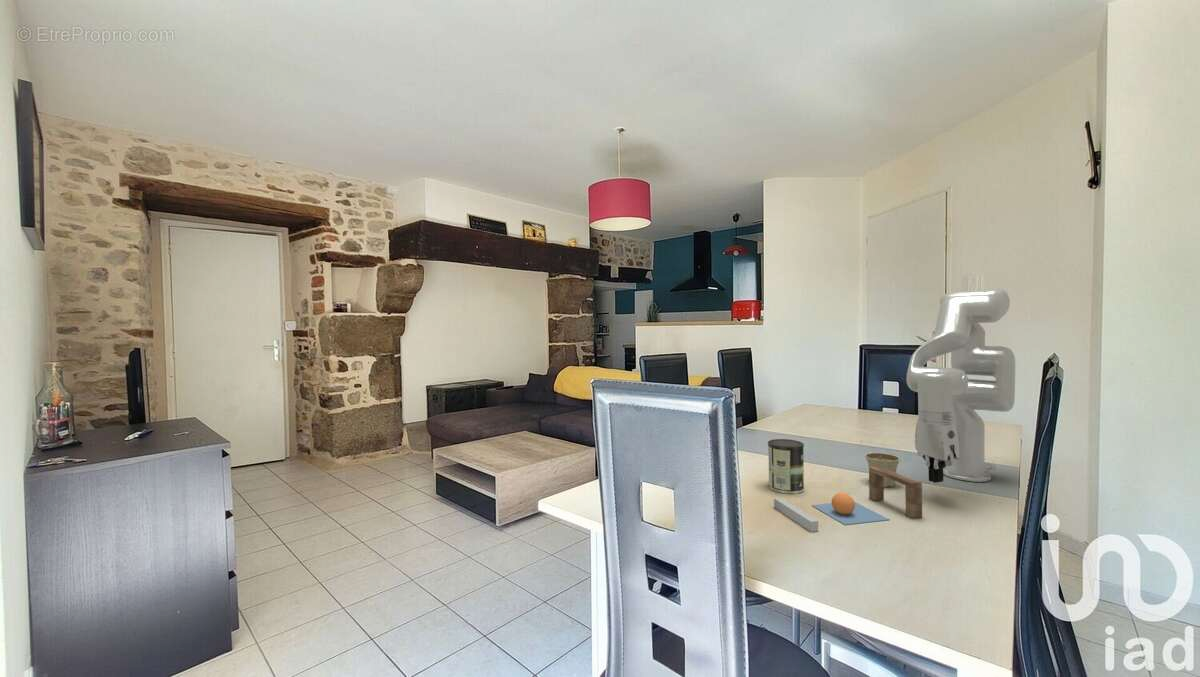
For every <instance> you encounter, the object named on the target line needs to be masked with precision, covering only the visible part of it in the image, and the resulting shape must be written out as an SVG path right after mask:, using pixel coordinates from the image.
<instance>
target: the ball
mask: <svg viewBox="0 0 1200 677" xmlns="http://www.w3.org/2000/svg"><path fill="white" fill-rule="evenodd" d="M855 502H856V501H855V500H854V498H853V497H852V496H851V495H850V494H848V493H846V492H838V493H836V494H834V495H833V497H832V499H831V503H832V506H833V508H834V510H835V511H836V512H838V513H839V514H842V515H848V514H850V513H852V512H853V511H854V509H855Z"/></svg>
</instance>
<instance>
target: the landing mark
mask: <svg viewBox="0 0 1200 677" xmlns="http://www.w3.org/2000/svg"><path fill="white" fill-rule="evenodd" d="M854 502H855V509H854V511H853V512H852V513H850V514H848V515H842V514H839V513H838V512H836V511H835V510H834V508H833V506H832V502H830V503H829V502H828V503H819V504H811V506H812V507H813V508H815V509H816V510H818V511H820V512H822V513H823V514H825V515H827V516H828V517H830V518H831V519H833V520H835V521H837V522H839V523H841V524H842V525H844V526H849V525H850V526H851V525H857V524H858V525H859V524H865V523H866V524H867V523H876V522H884V521H890V518H888V517H886V516H883V515H882V514H880V513H878V512H876V511H874V510H871V509H870V508H868V507H865V506H863V505H861V504H860V503H858V502H856V501H854Z"/></svg>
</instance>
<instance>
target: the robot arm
mask: <svg viewBox="0 0 1200 677" xmlns="http://www.w3.org/2000/svg"><path fill="white" fill-rule="evenodd" d="M939 301H940V302H939V304H940V306H939V309H938V314H937V319H936V322H935V324H936V325H935V327H934V328H935V329H934V333H933V337H931V338H929V339H928V340H926V341H924V342H923V343H922V344H921V345H920V346H919V347H918V348H917V349H916V350H915V351H914V352H913V353H912V355H911V357H910V359H909V363H908V368H907V372H906V380H905V381H906V384H907V387H908V388H909V389H910V390H911V391H913V392H915V393H917V404H918V405H917V407H918V409H917V410H918V411H917V412H918V413H917V415H918V416H917V417H918V418H917V420H916V423H915V430H914V431H915V432H914V448H915V451H916V452H917V453H916V454H917V456H919V457H921V458H923V460H924V461H925V465H926V467H928V468H927V469H928V481H929V482H932V483H934V484H935V483H936V484H937V483H943V482H944V476H946V477H948V478H951V479H956V480H961V481H966V482H974V483H975V482H976V483H977V482H978V483H983V482H990V481H991V479H992V476H991V474H990V473H988V470H991V471H992V470H996V468H997V466H996V464H995V463H992V462H991V463H987V462H985V456H986V455H985V450H986V449H985V443H986V442H985V440H986V439H985V438H986V437H985V436H986V434H985V430H986V429H985V422H984V420H983V418H982V417H981V416H980V415H979V413H977V411H988V412H989V411H991V412H1001V413H1003V412H1004V413H1005V412H1006V413H1007V412H1010V411H1011V410H1012V409H1013V408H1014V406H1015V398H1016V397H1015V396H1016V357H1015V354H1014V352H1013V350H1012V349H1011V348H1009V347H1006V346H1002V345H1001V346H1000V345H999V346H998V345H997V346H995V345H986V342H985V341H986V330H985V329H984V327H983V326H982V325H981V324H980V323H983V324H985V323H988V324H989V323H997V322H999V321H1000V320H1001V319H1003V317H1004V316H1006V314H1007V313H1008V312H1009V309H1010V304H1011V301H1010V297H1009V294H1008V293H1007V291H1005V290H1004V289H1002V288H1001V289H1000V288H999V289H981V290H980V289H978V290H963V291H962V290H958V291H951V292H948V293H945V294H944V295H942V296H941V298H940V300H939ZM949 353H950V365H951V368H950V367H939V366H938V367H934V366H931V367H930V366H925V365H926V364H927V363H928V362H929V361H931V360H933V359H934V358H937V357H940V356H942V355H943V356H944V355H947V354H949ZM969 376H980V377H982V376H983V377H993V378H994V379H995V380H990V379H989V380H987V379H986V380H985V379H978V378H977V379H975V378H973V379H972V378H969Z"/></svg>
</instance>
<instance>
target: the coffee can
mask: <svg viewBox="0 0 1200 677" xmlns="http://www.w3.org/2000/svg"><path fill="white" fill-rule="evenodd" d="M767 445H768V448H767V449H768V488H769V489H770V490H772V491H774V492H777V493H780V492H781V494H789V495H790V494H792V495H794V494H795V495H796V494H801V493H803V492H804V491H805V477H804V476H805V475H804V474H805V473H804V466H805V465H804V458H805V457H804V456H805V455H804V447H805V444H804V443H803V442H802V441H799V440H795V439H794V440H793V439H789V438H787V439H786V438H776V439H774V438H773V439H770V440H768V441H767Z"/></svg>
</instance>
